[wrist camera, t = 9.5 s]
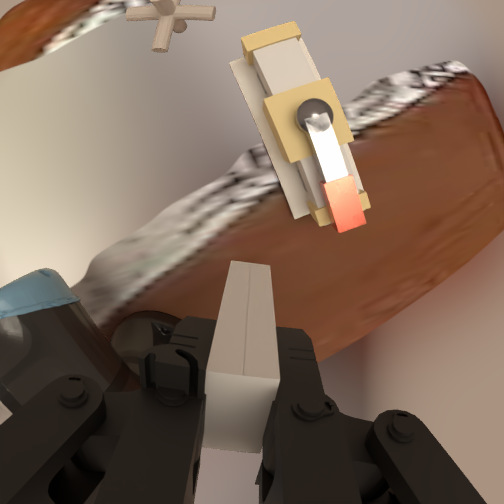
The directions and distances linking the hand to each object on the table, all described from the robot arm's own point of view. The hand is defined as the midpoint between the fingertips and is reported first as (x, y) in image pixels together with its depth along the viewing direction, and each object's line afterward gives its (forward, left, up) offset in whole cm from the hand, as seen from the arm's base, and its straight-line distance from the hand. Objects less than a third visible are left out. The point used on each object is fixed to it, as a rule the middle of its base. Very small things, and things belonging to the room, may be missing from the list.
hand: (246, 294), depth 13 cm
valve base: (+8, +6, -26) cm, 28 cm away
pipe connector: (0, +24, -27) cm, 36 cm away
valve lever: (+8, +2, -17) cm, 18 cm away
